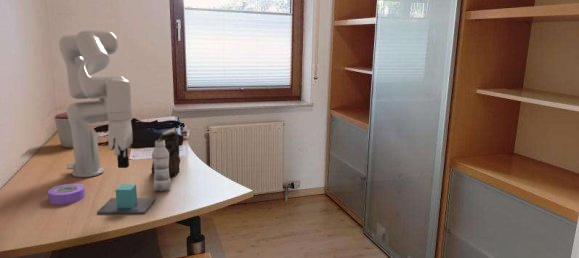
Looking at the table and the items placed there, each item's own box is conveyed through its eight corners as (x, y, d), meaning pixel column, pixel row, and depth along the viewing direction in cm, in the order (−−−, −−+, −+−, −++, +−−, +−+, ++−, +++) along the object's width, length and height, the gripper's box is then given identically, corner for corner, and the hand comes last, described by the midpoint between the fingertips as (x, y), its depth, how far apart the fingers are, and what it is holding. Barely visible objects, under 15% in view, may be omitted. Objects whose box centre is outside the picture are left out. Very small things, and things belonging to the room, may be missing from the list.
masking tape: (76, 190, 157) (75, 181, 156) (90, 198, 150) (89, 188, 149) (44, 199, 148) (42, 189, 147) (57, 207, 141) (55, 197, 140)
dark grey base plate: (97, 214, 136) (95, 196, 134) (111, 200, 147) (110, 183, 146) (144, 214, 136) (143, 196, 135) (155, 200, 148) (154, 184, 147)
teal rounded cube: (117, 207, 139) (115, 189, 138) (122, 201, 144) (121, 184, 143) (132, 207, 139) (130, 189, 138) (137, 201, 144) (135, 184, 143)
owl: (178, 168, 185) (176, 125, 180) (188, 176, 174) (186, 131, 170) (150, 172, 178) (148, 128, 173) (158, 181, 167) (156, 134, 163)
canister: (83, 150, 211) (79, 110, 206) (49, 149, 211) (44, 110, 206) (99, 141, 229) (96, 105, 224) (68, 141, 229) (64, 104, 224)
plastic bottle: (162, 194, 153) (159, 144, 149) (150, 190, 157) (147, 141, 152) (175, 189, 159) (172, 140, 154) (163, 186, 162) (160, 138, 158)
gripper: (117, 110, 142) (120, 160, 146) (99, 120, 127) (103, 174, 132) (138, 111, 142) (141, 160, 147) (123, 120, 128) (126, 175, 132)
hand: (123, 166), depth 139 cm, fingers closed
